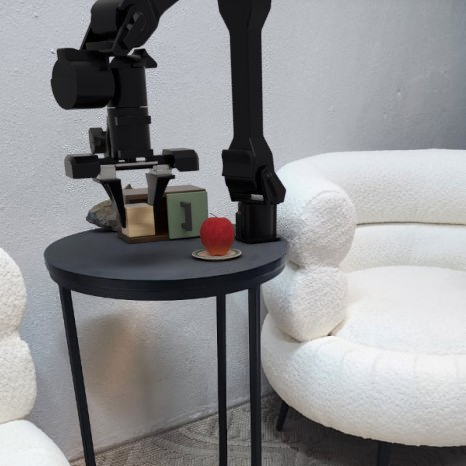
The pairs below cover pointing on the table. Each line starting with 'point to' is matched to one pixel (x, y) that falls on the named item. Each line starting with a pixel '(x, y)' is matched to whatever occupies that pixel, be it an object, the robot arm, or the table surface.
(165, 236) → the cabinet
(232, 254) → the apple
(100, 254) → the table surface
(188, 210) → the sliding door
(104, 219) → the rock
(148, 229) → the block
